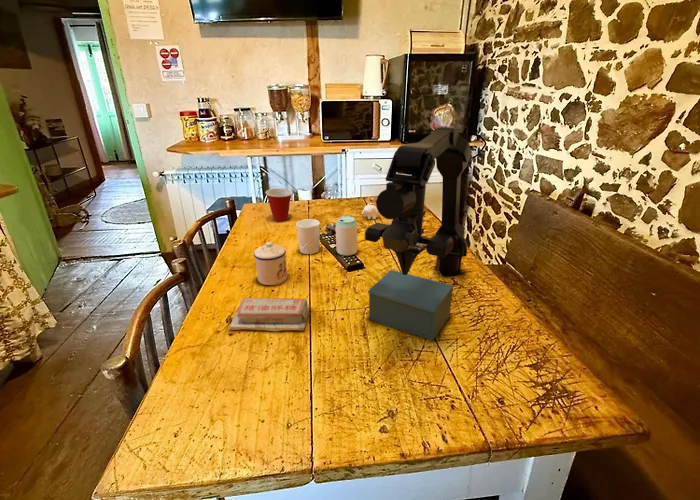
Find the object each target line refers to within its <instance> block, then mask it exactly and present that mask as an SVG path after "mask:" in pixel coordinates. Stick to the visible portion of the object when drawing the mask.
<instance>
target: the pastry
mask: <svg viewBox="0 0 700 500" xmlns="http://www.w3.org/2000/svg"><path fill="white" fill-rule="evenodd" d="M325 230H327V232H324V235H327V236H331V235H332V234H333V231H334V232H335V233H336V222H333V221H332V222H331V223H330V224H329V223H328V224H327V225H325Z"/></svg>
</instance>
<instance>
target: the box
mask: <svg viewBox="0 0 700 500" xmlns="http://www.w3.org/2000/svg"><path fill="white" fill-rule="evenodd" d="M453 290H454V288H453V289H452V290H451V291H450V293H449V294H448V296H447V297H446V298H445V300H444V301H443V302H442V304H441V305H440V306H439V308H438V309H437V310H436V312H435V313H433V312H429V311H426V310H423V309H419V308H416V307H413V306H409V305H406V304H403V303H399V302H396V301H393V300H389V299H386V298H383V297H379V296H376V295H373V294H369V293H368V296H369V297H368V298H369V299H368V300H369V301H368V306H369V307H368V308H369V309H368V320H370V321H373V322H376V323H379V324H382V325H385V326H388V327H391V328H394V329H397V330H400V331H403V332H406V333H408V334H412V335H415V336H417V337H421V338H425V339H426V340H430V341H434V340H435V338H436V337H437V336H438V335H439V332H440V331H441V330H442V328H443V327H444V326H445V323H446V322H447V321H448V319H449V318H450V315H451V309H452V308H451V307H452V299H453Z"/></svg>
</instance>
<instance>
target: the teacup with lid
mask: <svg viewBox="0 0 700 500" xmlns="http://www.w3.org/2000/svg"><path fill="white" fill-rule="evenodd" d="M286 253H287V250H286V249H285V247H283V246H282V245H279V244H273V242H272V241H266V242H265V244H264V245H262V246H258V247H257V248H256V249H255V250H254V252H253V256H254V260H255V269H256V276H257V281H258V283H260V284H262V285H264V286H277V285H280V284H282V283H284V282H286V280H287V279H288V270H287V259H286V258H287V257H286Z"/></svg>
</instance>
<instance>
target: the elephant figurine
mask: <svg viewBox="0 0 700 500" xmlns="http://www.w3.org/2000/svg"><path fill="white" fill-rule="evenodd" d="M378 214H379V212H378V210H377V207H376V205H374V203H372V202H369V203H367V205H365V206H364V208H363V209H362V211H361V216H362V217H366V216H367V220H374V221H375V220H376V219H377V218H378Z"/></svg>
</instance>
